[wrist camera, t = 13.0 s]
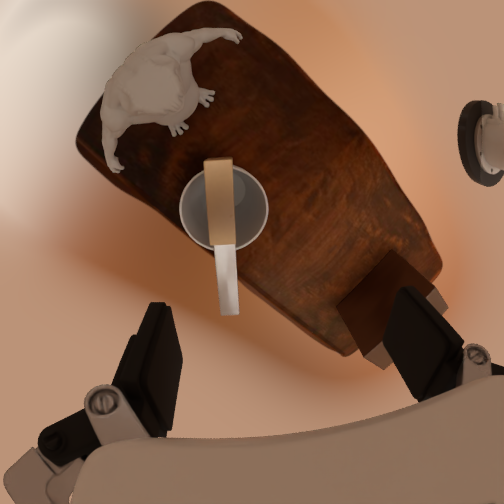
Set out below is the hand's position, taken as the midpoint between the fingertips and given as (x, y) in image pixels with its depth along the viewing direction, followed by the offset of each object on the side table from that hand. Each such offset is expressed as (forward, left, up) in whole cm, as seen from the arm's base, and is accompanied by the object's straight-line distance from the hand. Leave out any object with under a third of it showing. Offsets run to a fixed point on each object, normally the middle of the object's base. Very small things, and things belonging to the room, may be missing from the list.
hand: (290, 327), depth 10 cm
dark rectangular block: (+16, +20, -26) cm, 36 cm away
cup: (-1, -3, -26) cm, 26 cm away
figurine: (-11, -7, -26) cm, 29 cm away
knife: (+3, -3, -16) cm, 16 cm away
